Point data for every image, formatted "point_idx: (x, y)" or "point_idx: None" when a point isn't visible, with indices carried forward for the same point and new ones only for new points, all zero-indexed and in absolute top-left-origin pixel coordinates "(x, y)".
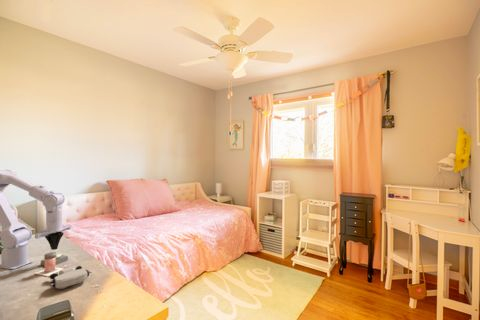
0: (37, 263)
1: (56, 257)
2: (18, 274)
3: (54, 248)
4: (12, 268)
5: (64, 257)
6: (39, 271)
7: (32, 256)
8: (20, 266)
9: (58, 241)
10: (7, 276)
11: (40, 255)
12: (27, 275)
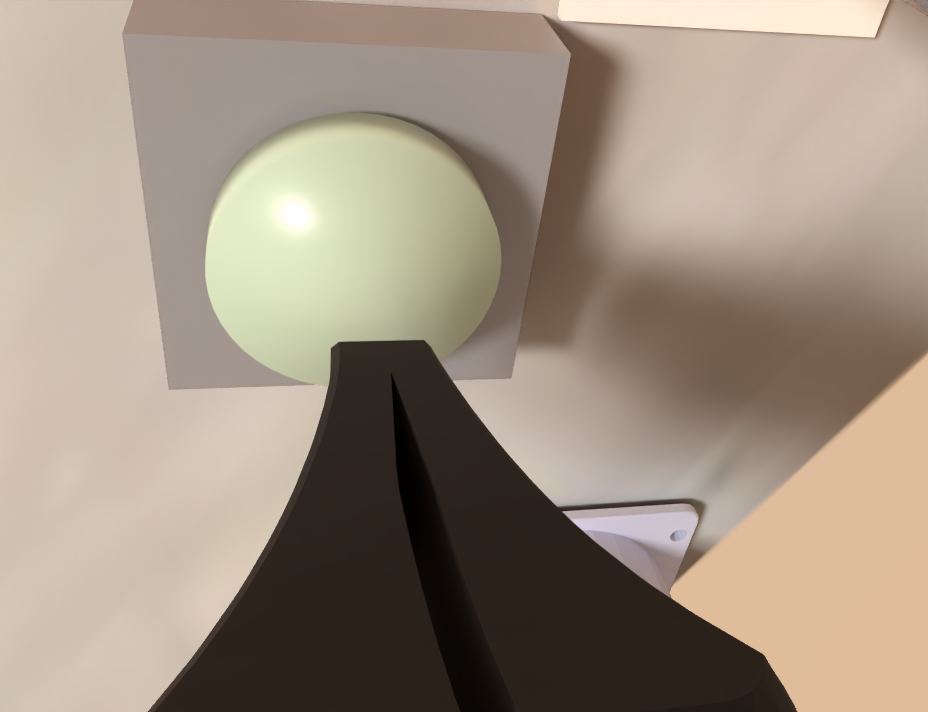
0: None
1: (410, 138)
2: (839, 291)
3: (433, 361)
4: (692, 519)
5: (228, 36)
6: (801, 21)
7: None
8: (603, 510)
9: (342, 495)
10: (885, 364)
11: None
12: (902, 109)
